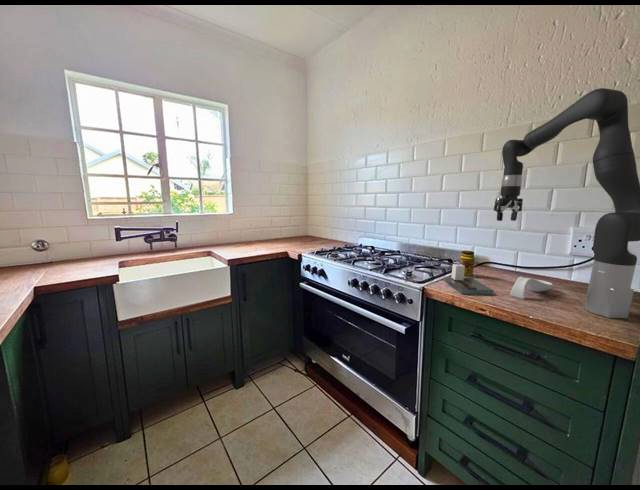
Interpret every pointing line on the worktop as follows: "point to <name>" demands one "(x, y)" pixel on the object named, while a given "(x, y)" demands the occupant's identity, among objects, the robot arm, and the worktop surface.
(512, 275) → the worktop surface
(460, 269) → the block
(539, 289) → the spoon rest
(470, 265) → the condiment
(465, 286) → the plate
